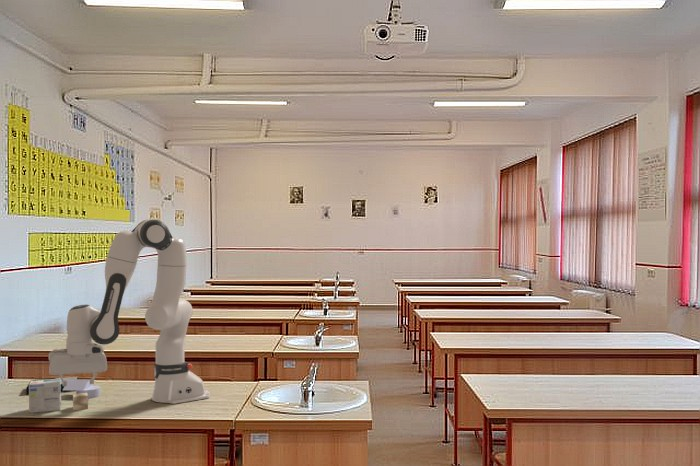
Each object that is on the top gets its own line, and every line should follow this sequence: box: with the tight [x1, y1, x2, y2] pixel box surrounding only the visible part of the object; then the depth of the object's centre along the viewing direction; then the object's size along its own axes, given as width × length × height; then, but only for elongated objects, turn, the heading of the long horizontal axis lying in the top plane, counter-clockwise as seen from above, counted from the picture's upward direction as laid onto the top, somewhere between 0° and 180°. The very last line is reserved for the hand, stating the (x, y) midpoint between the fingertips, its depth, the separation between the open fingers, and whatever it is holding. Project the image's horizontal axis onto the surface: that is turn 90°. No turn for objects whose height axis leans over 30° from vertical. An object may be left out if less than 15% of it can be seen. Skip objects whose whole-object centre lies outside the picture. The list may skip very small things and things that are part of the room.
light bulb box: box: [28, 378, 62, 414], centre depth 248 cm, size 11×7×11 cm, turn 110°
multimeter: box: [25, 376, 79, 396], centre depth 280 cm, size 13×19×5 cm
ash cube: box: [72, 393, 89, 411], centre depth 250 cm, size 5×5×5 cm
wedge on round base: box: [63, 378, 101, 400], centre depth 268 cm, size 9×7×13 cm
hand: (78, 384), depth 250 cm, fingers open, 8 cm apart
